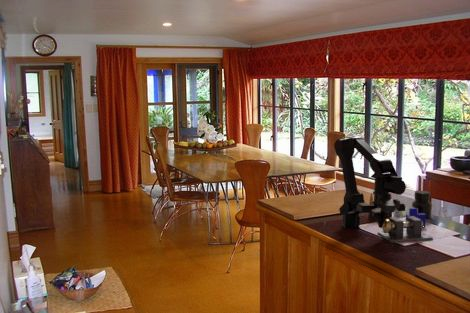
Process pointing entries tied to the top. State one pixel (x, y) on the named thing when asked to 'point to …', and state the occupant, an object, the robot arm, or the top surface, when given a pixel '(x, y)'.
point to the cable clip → (414, 213)
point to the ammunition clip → (371, 215)
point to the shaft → (389, 226)
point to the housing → (405, 231)
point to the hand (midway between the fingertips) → (380, 227)
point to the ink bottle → (422, 203)
